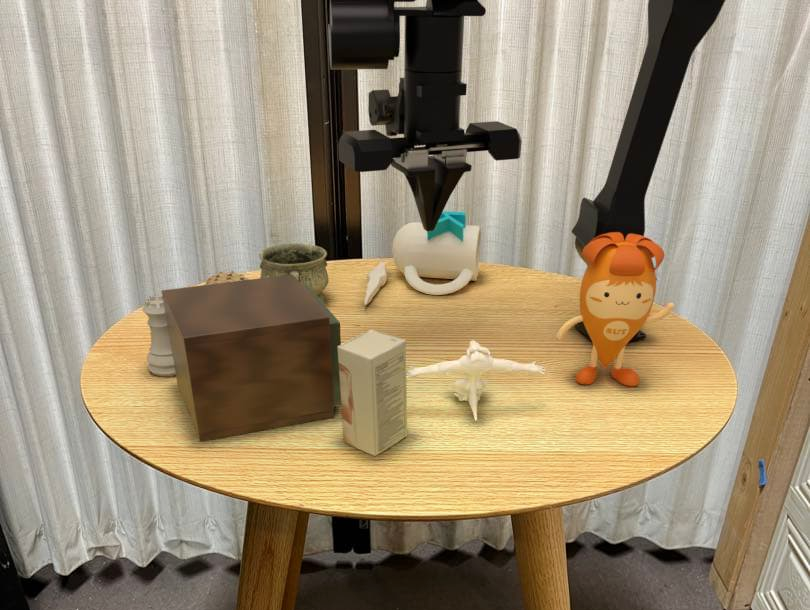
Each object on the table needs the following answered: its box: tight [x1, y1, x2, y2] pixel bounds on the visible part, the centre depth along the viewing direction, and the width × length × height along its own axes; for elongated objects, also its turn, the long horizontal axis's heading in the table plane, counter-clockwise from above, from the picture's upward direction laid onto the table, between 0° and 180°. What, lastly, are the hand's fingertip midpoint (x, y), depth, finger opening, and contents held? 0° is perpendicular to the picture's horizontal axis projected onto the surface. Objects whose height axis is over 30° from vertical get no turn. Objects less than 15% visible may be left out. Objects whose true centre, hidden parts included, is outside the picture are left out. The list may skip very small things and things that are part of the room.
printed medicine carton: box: [338, 329, 408, 457], centre depth 77 cm, size 5×4×10 cm
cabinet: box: [161, 274, 335, 442], centre depth 83 cm, size 14×13×11 cm
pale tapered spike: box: [363, 261, 388, 306], centre depth 112 cm, size 15×3×2 cm, turn 172°
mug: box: [391, 210, 482, 296], centre depth 113 cm, size 12×9×12 cm
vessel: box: [258, 242, 329, 304], centre depth 107 cm, size 12×9×6 cm
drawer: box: [301, 283, 342, 407], centre depth 84 cm, size 14×11×9 cm
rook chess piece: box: [142, 294, 176, 377], centre depth 90 cm, size 4×4×8 cm
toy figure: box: [555, 232, 675, 387], centre depth 88 cm, size 12×8×15 cm
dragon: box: [406, 339, 548, 421], centre depth 83 cm, size 15×7×8 cm, turn 96°
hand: (428, 230), depth 91 cm, fingers closed
